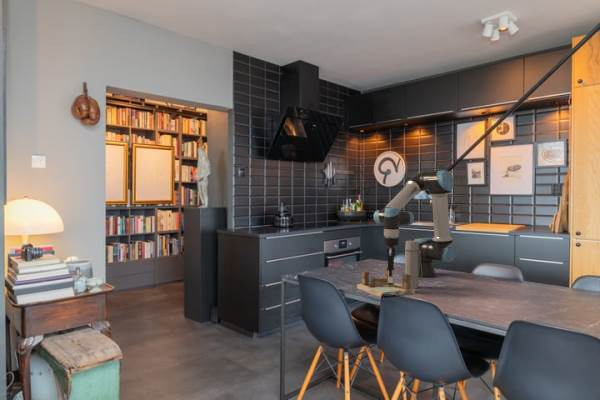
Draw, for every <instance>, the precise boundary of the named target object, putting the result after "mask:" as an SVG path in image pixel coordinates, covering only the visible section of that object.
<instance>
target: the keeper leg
mask: <svg viewBox="0 0 600 400" xmlns="http://www.w3.org/2000/svg"><path fill="white" fill-rule="evenodd" d="M394 281H395V279H394V277H393V283H388V277H387V278H385V277H374V276H369V283H370V285H369V286H370V287H375V286H380V285H393V284H394V283H395V282H394Z"/></svg>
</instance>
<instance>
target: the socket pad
mask: <svg viewBox="0 0 600 400" xmlns="http://www.w3.org/2000/svg"><path fill="white" fill-rule="evenodd" d="M371 289H373V290H376V291H378V292H381V293H388V292H396V291H399V290H396V289H393V288H390V287H388V286H384V287H375V288H371Z"/></svg>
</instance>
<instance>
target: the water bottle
mask: <svg viewBox="0 0 600 400" xmlns="http://www.w3.org/2000/svg"><path fill="white" fill-rule="evenodd" d="M418 251H419V245H418V241H414V240H406V241H405V248H404V274H408V275H411V278H410V288H413V289H418V287H419V280H423V279H422V278H423V277H418V264H419V266H420V262H421V258H420V255H419V254H420V252H421V251H419V252H418ZM421 272H422V267H421Z"/></svg>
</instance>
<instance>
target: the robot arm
mask: <svg viewBox="0 0 600 400" xmlns="http://www.w3.org/2000/svg"><path fill="white" fill-rule="evenodd" d="M454 182H455V181H454V177H453V175H452V174H451V172H450V171H448V170H425V171H421V172H419V173H417V174H415V175H414V176H412V177H411V178H409V180H408V181H406V183H405V185H404V187H403V188H402V189H401V190H400V191H399V192H398V193H397V194H396V195H395V196H394V197H393V199H391V200H390V201H389V202H388V204H386V206H384V207H383V209H377V210H375V212H374V213H373V220H374V222H375V223H376V224H381V225H382V224H383V225H384V227H383V236H384V237H383V244H384V245H386V246H388V247H387V248H386V252H387V268H386V269H387V270H388V283H393V278H394V271H395V270H396V269H395V261H394V260H395V256H396V255H395V252H396V248H395V246H399V240H400V239H399V236H400V235H399V234H401V231H400V226H410V225H413V223H414V222H415V216H414V214H413V213H412V211H407V210H403V208H404V207H405V206H406V205H407V204H408V203H409V202H410V200H411V199H413V197H414V196H415V195H418V194H420V193H421V192H425V191H426V192H427V191H428V194H429V196H431V202H432V203H431V205H432V217H433V218H432V219H433V232H434V234H433V235H434V236H433V237H426V238H425V237H424V238H423V237H422V238H421V237H420V238H415V239H414V240H413V241H418V245H419V251H421V252H420V254H419V255H420V258H421V262H420V266H419V264H418V278H421V277H422V278H433V277H436V270H435V268H434V263H433V261H438V262H443V263H450V262H453V261H454V260H455V259H456V257H457V254H458V245H457V243H455V242H454V241H453V237H452V236H451V235H450V232H451V231H450V218H449V217H450V216H449V203H448V202H449V201H448V200H449V199H448V195H450V193H451V191H452V190H453V189H454V185H455V183H454ZM401 210H402V211H401ZM419 251H418V252H419ZM421 267H422V272H421Z"/></svg>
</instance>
